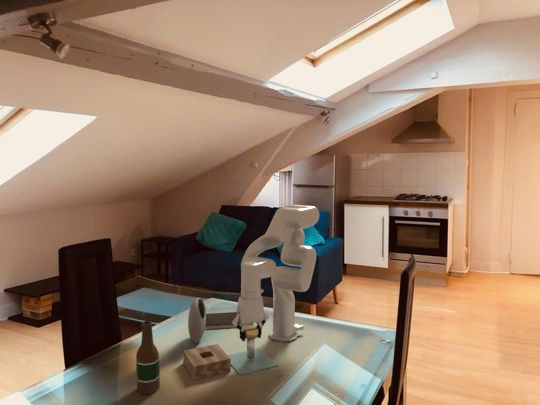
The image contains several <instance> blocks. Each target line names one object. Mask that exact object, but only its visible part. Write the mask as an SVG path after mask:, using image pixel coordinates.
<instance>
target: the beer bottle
mask: <svg viewBox="0 0 540 405" xmlns="http://www.w3.org/2000/svg"><path fill="white" fill-rule="evenodd" d="M153 325H154V324H153V322H152V321H151V320H144V321H143V322H141V328H142V329H141V342H140V346H139V348H138V349H137V350H136V351H137V352H136V355H135V356H136V359H135V361H136V362H135V366H136V368H135V370H136V371H135V372H136V390H137V391H138V393H139V394H141V395H144V396H145V395H146V396H147V395H150V394H155V393H156V392H158V390H160V384H161V377H160V376H161V375H160V374H161V373H160V353H159V351H158V348H157V346H156V345H155V343H154V336H153V335H154V334H153Z"/></svg>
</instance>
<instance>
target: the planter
mask: <svg viewBox="0 0 540 405" xmlns="http://www.w3.org/2000/svg"><path fill="white" fill-rule="evenodd" d="M188 312H189V313H188V320H187V324H188V326H187V327H188V328H187V330H188V334H189V337H190V340H191V341H192V342H193V343H194V344H197V343H199V342H200V341H201V340H202V338H203V335H204V334H205V330H206V329H205V325H206V314H207V310H206V305H205V302H204V300H203V299H202V298H201V297H196V298H194V300H193V301H192V304H191V306H190V307H189V311H188Z"/></svg>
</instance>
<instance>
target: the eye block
mask: <svg viewBox="0 0 540 405" xmlns="http://www.w3.org/2000/svg"><path fill="white" fill-rule="evenodd" d="M228 355H229V354H227V353H226V352H225V350H224V349H223V348H222V347H221V346H220V345H219V343H216V344H211V345H204V346H200V347H195V348H191V349H190V348H189V349H186V350H183V355H182V356H183V365H184V366H185V368H186V369H187V371H188V372H189V374H190V376H191V377H192V379H193V380H194V381H195V380H200V379H204V378H208V377H212V376H217V375H221V374H226V373H230V372H231V367H232V366H231V359H230V357H229V356H228Z"/></svg>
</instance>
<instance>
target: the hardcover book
mask: <svg viewBox="0 0 540 405" xmlns="http://www.w3.org/2000/svg"><path fill="white" fill-rule="evenodd" d="M236 316H237V311H229V312H228V311H227V312H213V313H210V312H209V313H206V325H205V330H211V329H225V328H227V329H228V328H237V327H236V326H234V325H233V324H232V321H233V320H234V319H235V317H236ZM237 324H238V325H240V321H238V322H237ZM249 325H253V326H254V323H250V324H246V326H249Z"/></svg>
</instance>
